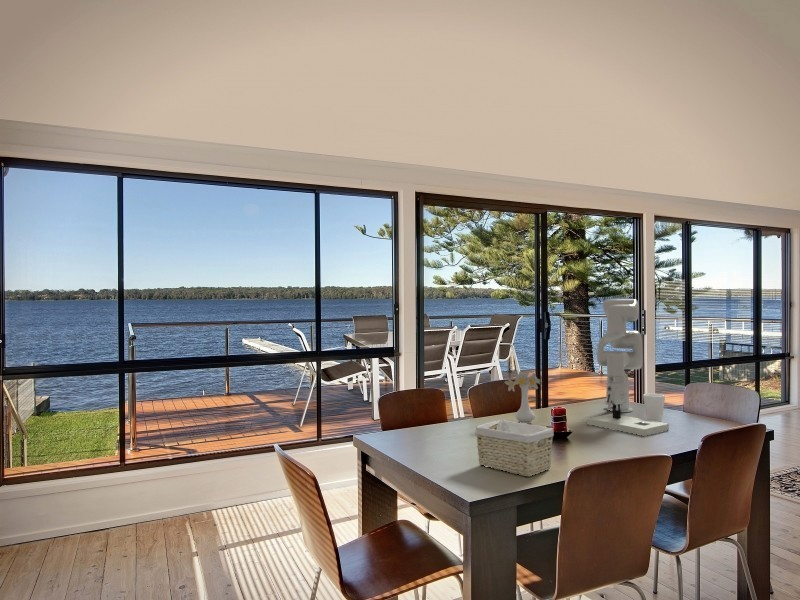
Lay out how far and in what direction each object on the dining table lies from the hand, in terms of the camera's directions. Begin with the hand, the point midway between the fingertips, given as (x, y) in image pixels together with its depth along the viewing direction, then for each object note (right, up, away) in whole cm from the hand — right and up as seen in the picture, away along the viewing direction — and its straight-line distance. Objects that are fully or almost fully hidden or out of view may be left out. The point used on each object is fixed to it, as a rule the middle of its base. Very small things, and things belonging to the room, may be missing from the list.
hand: (616, 418), depth 263 cm
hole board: (+3, -3, -5) cm, 6 cm away
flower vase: (-41, -5, +9) cm, 42 cm away
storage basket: (-61, -5, -63) cm, 88 cm away
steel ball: (+7, -1, -12) cm, 14 cm away
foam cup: (+20, -3, +5) cm, 21 cm away
